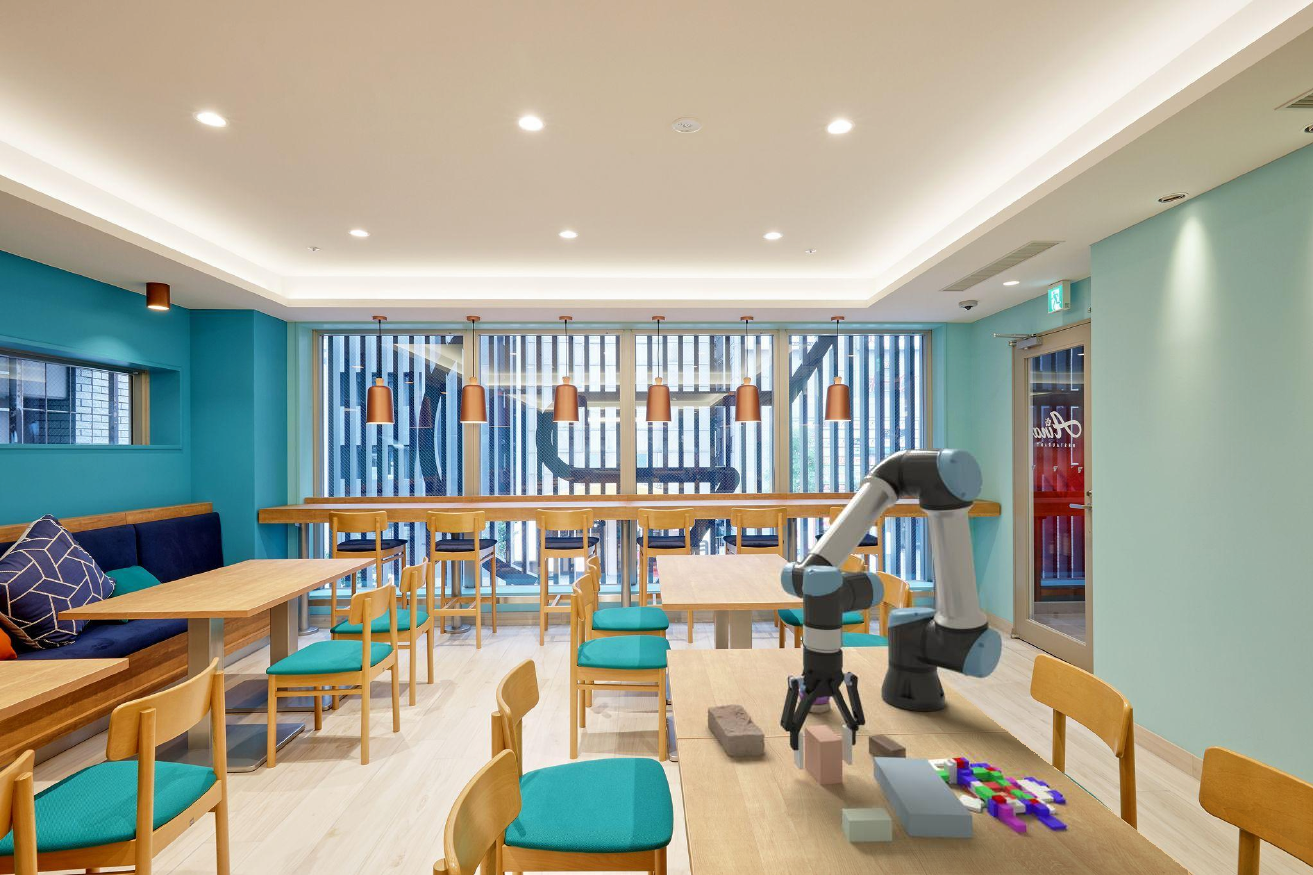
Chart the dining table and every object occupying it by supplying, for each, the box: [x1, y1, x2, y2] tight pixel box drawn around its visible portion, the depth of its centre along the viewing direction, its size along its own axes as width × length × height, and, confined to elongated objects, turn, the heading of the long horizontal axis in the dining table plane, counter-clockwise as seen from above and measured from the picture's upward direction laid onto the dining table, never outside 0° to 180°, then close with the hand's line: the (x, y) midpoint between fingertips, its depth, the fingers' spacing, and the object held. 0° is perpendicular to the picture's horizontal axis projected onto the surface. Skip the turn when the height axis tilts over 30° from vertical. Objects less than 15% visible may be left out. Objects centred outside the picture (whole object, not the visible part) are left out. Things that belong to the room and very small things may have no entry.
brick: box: [707, 703, 766, 757], centre depth 141 cm, size 17×8×5 cm, turn 11°
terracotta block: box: [804, 724, 843, 786], centre depth 125 cm, size 4×7×8 cm, turn 11°
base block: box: [873, 756, 973, 839], centre depth 114 cm, size 10×20×4 cm, turn 177°
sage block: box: [841, 807, 893, 843], centre depth 105 cm, size 4×7×4 cm, turn 92°
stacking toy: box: [797, 666, 832, 714], centre depth 159 cm, size 8×8×19 cm
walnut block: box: [868, 733, 907, 758], centre depth 132 cm, size 4×7×4 cm, turn 20°
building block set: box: [927, 756, 1067, 834], centre depth 119 cm, size 25×20×4 cm
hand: (823, 763), depth 125 cm, fingers open, 9 cm apart
